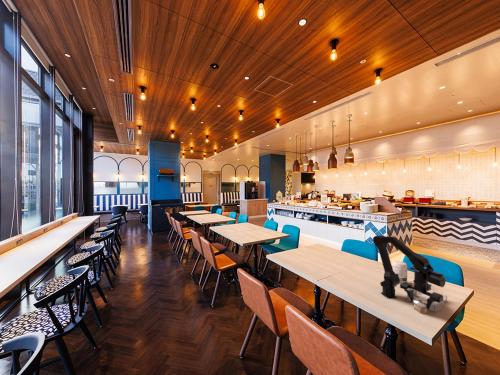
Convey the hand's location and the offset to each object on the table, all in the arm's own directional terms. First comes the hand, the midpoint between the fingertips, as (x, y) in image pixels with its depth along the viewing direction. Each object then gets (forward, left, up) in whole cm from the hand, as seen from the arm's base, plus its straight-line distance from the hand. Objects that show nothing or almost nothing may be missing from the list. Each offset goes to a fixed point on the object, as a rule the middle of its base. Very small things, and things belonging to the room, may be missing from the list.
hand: (420, 305), depth 119 cm
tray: (+17, +11, -3) cm, 20 cm away
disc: (0, 0, +1) cm, 1 cm away
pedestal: (0, 0, -3) cm, 3 cm away
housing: (+10, +7, -3) cm, 13 cm away
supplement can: (+16, +33, -3) cm, 37 cm away
